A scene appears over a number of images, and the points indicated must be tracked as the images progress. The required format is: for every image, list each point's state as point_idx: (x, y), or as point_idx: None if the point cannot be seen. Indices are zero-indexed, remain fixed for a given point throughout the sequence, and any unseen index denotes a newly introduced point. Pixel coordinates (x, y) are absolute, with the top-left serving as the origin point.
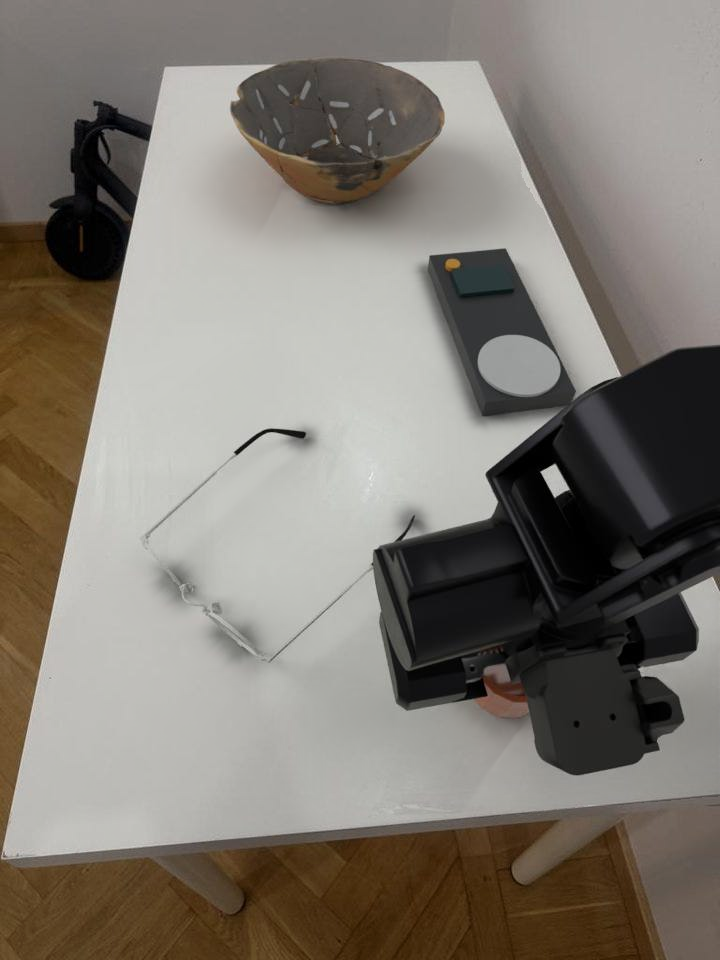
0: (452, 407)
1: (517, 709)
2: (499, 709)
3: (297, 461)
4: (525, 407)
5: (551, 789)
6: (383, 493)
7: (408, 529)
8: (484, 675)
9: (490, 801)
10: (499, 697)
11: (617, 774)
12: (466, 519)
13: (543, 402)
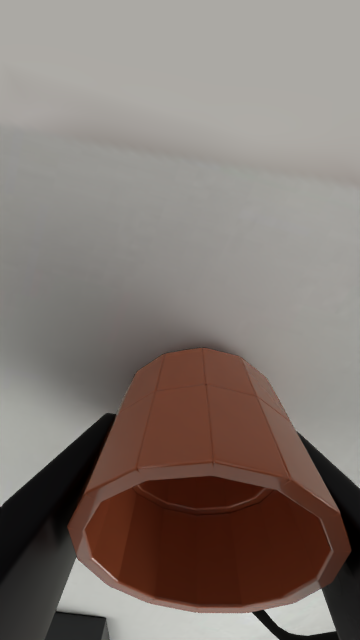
0: (135, 627)
1: (232, 395)
2: (260, 390)
3: (327, 631)
4: (54, 623)
5: (191, 190)
6: None
7: (264, 624)
8: (334, 551)
9: (340, 201)
10: (316, 485)
11: (29, 183)
12: None
13: None
